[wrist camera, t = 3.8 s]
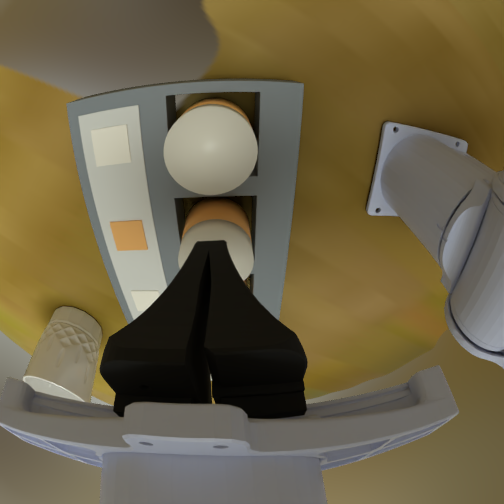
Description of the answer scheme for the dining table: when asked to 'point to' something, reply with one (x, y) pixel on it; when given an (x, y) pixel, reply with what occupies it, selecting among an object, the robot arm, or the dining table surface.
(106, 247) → the board
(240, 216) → the button
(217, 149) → the button
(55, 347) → the white cup
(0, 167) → the dining table surface
